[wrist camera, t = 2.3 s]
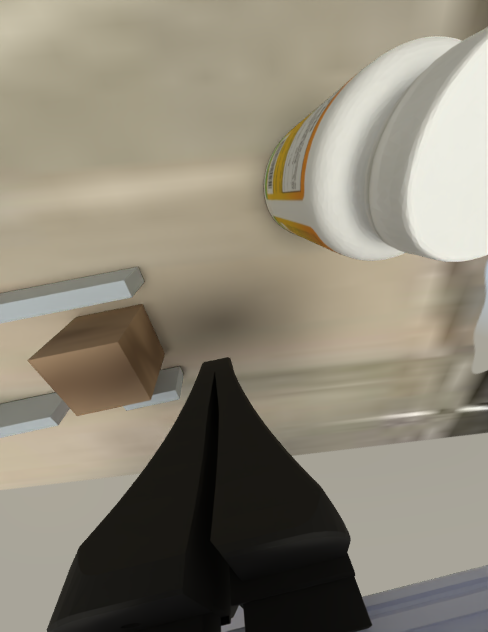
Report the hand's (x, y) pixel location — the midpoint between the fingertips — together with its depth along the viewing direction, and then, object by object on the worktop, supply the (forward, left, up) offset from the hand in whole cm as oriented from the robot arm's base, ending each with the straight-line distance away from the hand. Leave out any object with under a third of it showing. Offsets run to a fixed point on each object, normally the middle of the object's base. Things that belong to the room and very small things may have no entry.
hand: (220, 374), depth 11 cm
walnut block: (0, +7, -6) cm, 9 cm away
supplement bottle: (+7, -7, -6) cm, 12 cm away
